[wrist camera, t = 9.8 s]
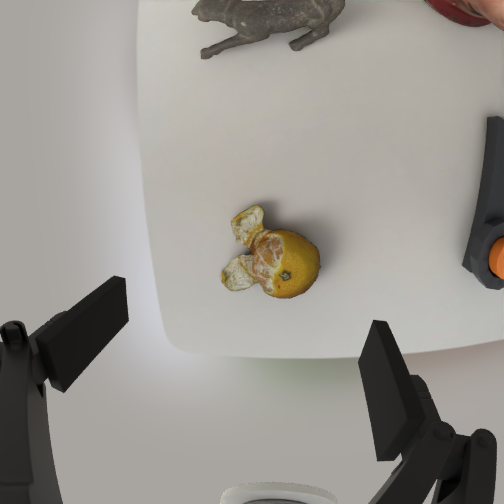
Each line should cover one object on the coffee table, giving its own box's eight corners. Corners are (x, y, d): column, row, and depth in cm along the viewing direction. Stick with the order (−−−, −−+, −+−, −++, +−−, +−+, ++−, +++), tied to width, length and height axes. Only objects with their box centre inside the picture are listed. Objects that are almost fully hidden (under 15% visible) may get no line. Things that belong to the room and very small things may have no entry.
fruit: (236, 200, 26) (226, 207, 22) (331, 222, 25) (336, 233, 22) (220, 286, 28) (210, 304, 25) (306, 306, 28) (306, 327, 24)
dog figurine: (330, -4, 18) (339, -47, 11) (344, 48, 20) (360, 12, 13) (199, 15, 21) (169, -21, 14) (206, 66, 22) (174, 39, 15)
